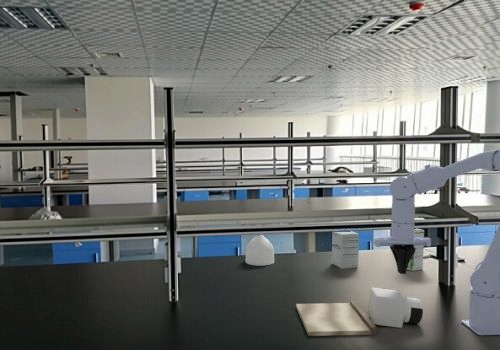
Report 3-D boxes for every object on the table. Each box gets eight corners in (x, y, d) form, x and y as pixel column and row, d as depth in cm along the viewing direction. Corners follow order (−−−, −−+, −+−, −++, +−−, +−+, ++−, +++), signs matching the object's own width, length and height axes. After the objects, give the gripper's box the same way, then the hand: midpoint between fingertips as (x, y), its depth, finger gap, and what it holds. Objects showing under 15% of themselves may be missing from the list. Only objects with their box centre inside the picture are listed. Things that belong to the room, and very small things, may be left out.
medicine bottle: (367, 313, 113) (414, 319, 112) (372, 324, 106) (423, 331, 105) (370, 286, 113) (418, 292, 112) (376, 296, 105) (426, 302, 105)
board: (354, 306, 120) (354, 300, 120) (376, 334, 102) (376, 327, 102) (296, 307, 119) (296, 301, 119) (308, 336, 101) (308, 328, 101)
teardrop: (239, 261, 167) (239, 230, 166) (261, 256, 174) (261, 227, 174) (258, 267, 159) (258, 234, 158) (280, 262, 166) (280, 231, 165)
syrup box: (399, 267, 159) (400, 228, 158) (411, 265, 161) (412, 226, 160) (411, 271, 153) (412, 230, 152) (423, 269, 156) (424, 229, 155)
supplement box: (331, 263, 163) (331, 230, 163) (348, 262, 166) (349, 229, 165) (340, 269, 156) (341, 234, 156) (359, 267, 159) (359, 233, 158)
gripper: (423, 219, 119) (421, 268, 120) (370, 219, 118) (369, 268, 119) (435, 223, 112) (433, 275, 113) (379, 224, 111) (378, 276, 112)
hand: (401, 272), depth 116 cm, fingers closed
